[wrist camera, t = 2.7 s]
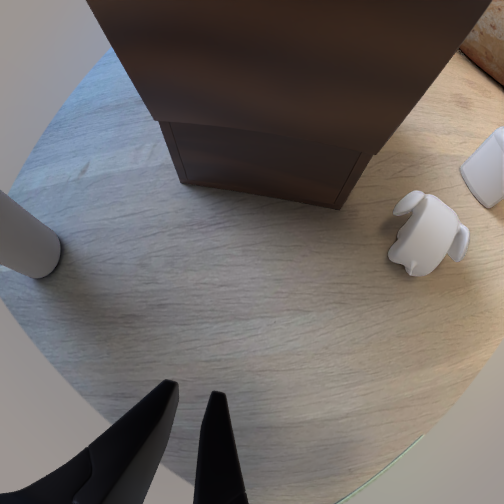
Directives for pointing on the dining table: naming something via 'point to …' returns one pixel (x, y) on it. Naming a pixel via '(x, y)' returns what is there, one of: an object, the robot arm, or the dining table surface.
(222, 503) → the robot arm
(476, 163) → the eye dropper bottle
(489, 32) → the bread
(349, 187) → the box
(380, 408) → the dining table surface
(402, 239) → the elephant figurine
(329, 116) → the lid
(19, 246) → the beverage can
